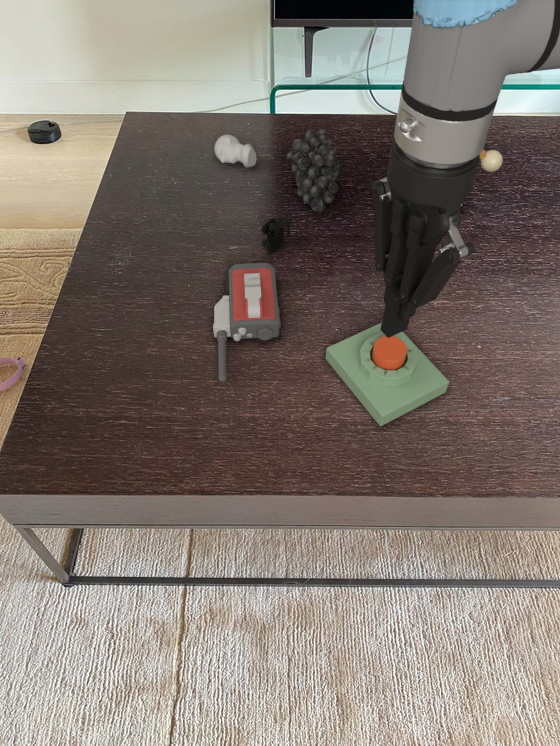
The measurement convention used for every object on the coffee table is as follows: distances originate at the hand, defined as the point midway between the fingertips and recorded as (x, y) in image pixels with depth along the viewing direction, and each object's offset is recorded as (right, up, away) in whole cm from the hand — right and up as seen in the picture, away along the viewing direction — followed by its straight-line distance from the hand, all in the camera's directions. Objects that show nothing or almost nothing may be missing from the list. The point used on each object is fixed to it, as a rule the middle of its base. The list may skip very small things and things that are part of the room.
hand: (393, 329), depth 71 cm
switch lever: (+15, +29, +24) cm, 41 cm away
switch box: (0, -5, +7) cm, 9 cm away
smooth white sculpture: (-21, +31, +35) cm, 51 cm away
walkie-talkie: (-17, +1, +12) cm, 21 cm away
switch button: (0, -3, +4) cm, 5 cm away
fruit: (-8, +24, +30) cm, 39 cm away
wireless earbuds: (-14, +14, +22) cm, 29 cm away
